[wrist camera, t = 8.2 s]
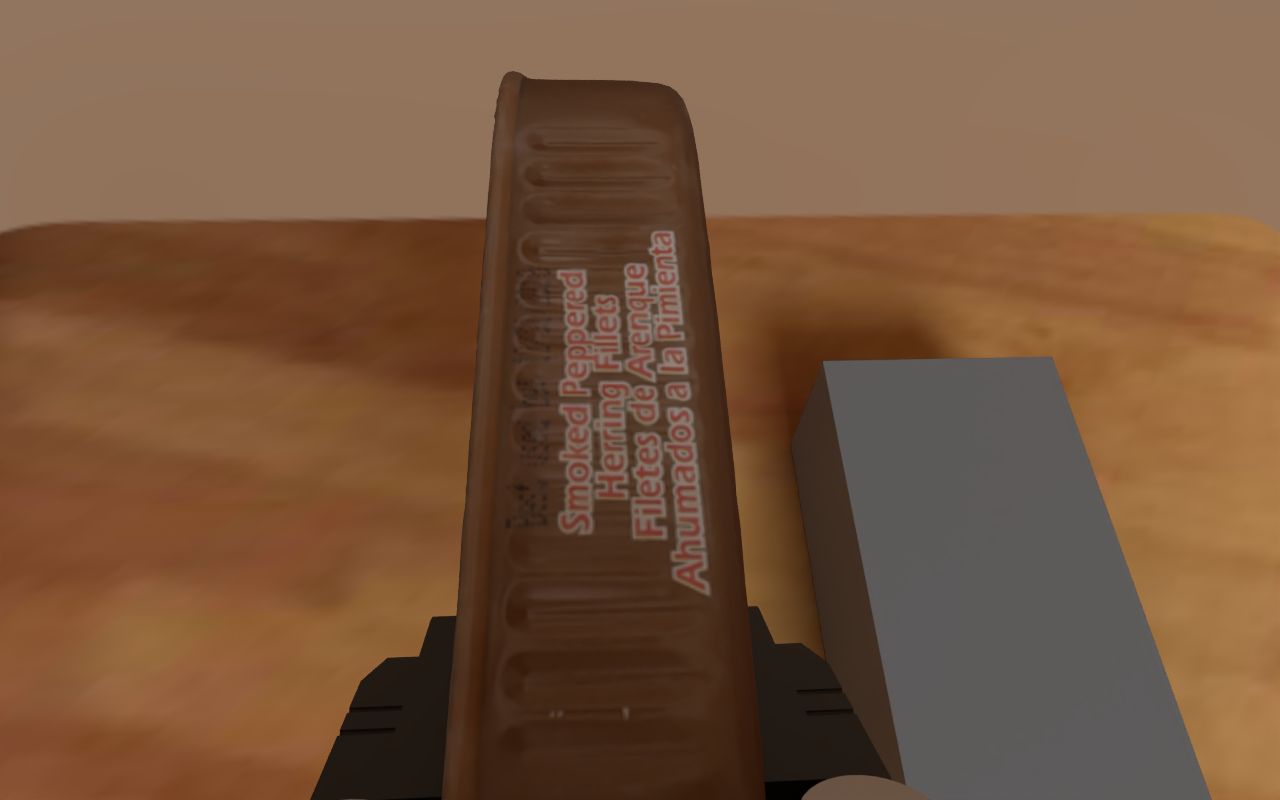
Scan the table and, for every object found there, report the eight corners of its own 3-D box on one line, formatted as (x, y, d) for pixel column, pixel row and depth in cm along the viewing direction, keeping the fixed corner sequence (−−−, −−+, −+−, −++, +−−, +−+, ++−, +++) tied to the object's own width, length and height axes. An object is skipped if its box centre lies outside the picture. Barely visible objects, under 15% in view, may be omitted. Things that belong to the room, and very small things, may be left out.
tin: (537, 309, 20) (463, -57, 13) (678, 303, 20) (683, -67, 13) (507, 1204, 12) (267, 1552, 5) (745, 1194, 12) (858, 1528, 5)
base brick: (908, 1163, 21) (990, 1217, 16) (790, 443, 31) (822, 361, 26) (1197, 1139, 21) (1350, 1185, 17) (989, 438, 31) (1052, 357, 27)
